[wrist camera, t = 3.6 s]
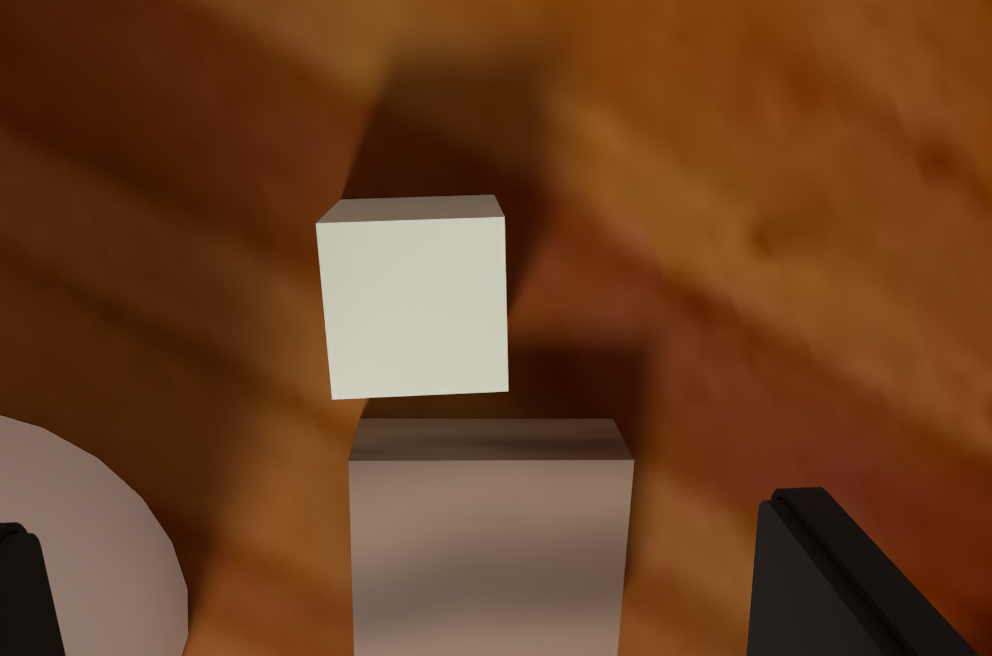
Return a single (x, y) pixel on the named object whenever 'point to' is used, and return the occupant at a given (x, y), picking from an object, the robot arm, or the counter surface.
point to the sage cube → (414, 296)
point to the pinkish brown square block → (488, 536)
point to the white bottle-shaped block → (94, 547)
